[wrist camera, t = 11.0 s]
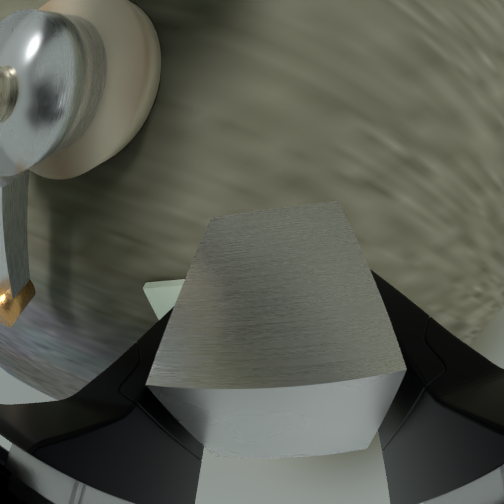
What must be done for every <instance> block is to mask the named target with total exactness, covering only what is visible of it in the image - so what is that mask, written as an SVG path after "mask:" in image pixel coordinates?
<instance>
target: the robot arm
mask: <svg viewBox="0 0 504 504" xmlns="http://www.w3.org/2000/svg"><path fill="white" fill-rule="evenodd" d="M370 271H371V273H372V276H373V278H374V280H375V283H376V285H377V288H378V290H379V293H380V295H381V298H382V300H383V303H384V305H385V308H386V311H387V313H388V316H389V319H390V321H391V324H392V327H393V330H394V333H395V335H396V338H397V341H398V344H399V347H400V350H401V353H402V356H403V359H404V362H405V366H406V369H407V370H406V372H405V375H404V377H403V379H402V382H401V384H400V386H399V388H398V391H397V393H396V395H395V397H394V399H393V401H392V403H391V405H390V407H389V409H388V411H387V413H386V415H385V417H384V419H383V421H382V423H381V425H380V427H379V429H378V432H379V437H380V442H381V447H382V451H383V452H382V453H383V459H384V464H385V470H386V476H387V482H388V489H389V496H390V503H391V504H420V503H422V502H424V504H504V369H502V368H500V367H498V366H497V365H495V364H493V363H492V362H491V361H489V360H488V359H486V358H485V357H484V356H482V355H481V354H479V353H478V352H476V351H475V350H474V349H472V348H471V347H469V346H468V345H467V344H465V343H464V342H462V341H461V340H460V339H458V338H457V337H456V336H454V335H453V334H451V333H450V332H449V331H448V330H446V329H445V328H444V327H443V326H441V325H440V324H439V323H438V322H436V321H435V320H434V319H433V318H432V317H430V316H429V315H428V314H427V313H425V312H424V311H423V310H422V309H421V308H419V307H418V306H417V305H416V304H414V303H413V302H412V301H411V300H409V299H408V298H407V297H406V296H404V295H403V294H402V293H401V292H399V291H398V290H397V289H395V288H394V287H393V286H392V285H390V284H389V283H388V282H386V281H385V280H384V279H383V278H381V277H380V276H379V275H377V274H376V273H375V272H373V271H372V270H371V269H370ZM173 308H174V307H173ZM173 308H172V309H171V310H169V311H168V312H167V313H166V314H165V315H164V316H163V317H162V318H161V319H160V320H159V321H158V322H157V323H156V324H155V325H154V326H153V327H152V328H151V329H149V330H148V331H147V332H146V333H145V334H144V335H143V336H142V337H141V338H140V339H139V340H138V341H137V343H135V344H134V345H133V346H132V347H131V348H129V349H128V350H127V351H126V352H125V353H124V354H123V355H122V356H121V357H120V358H119V359H118V360H116V361H115V362H114V363H113V364H112V365H111V366H109V367H108V368H107V369H106V370H105V371H103V372H102V373H101V374H100V375H98V376H97V377H96V378H95V379H93V380H92V381H91V382H90V383H89V384H87V385H86V386H85V387H84V388H82V389H81V390H80V391H79V392H77V393H76V394H74V395H73V396H71V397H69V398H66V399H63V400H59V401H50V402H42V403H29V404H14V405H4V404H0V434H1V435H2V436H3V437H5V438H6V439H7V440H9V441H10V442H11V443H12V446H11V448H10V451H8V450H6V449H5V448H3V447H2V446H1V445H0V504H195V499H196V492H197V486H198V480H199V473H200V468H201V460H202V455H203V449H204V446H203V445H202V444H201V443H200V442H199V441H198V440H197V439H196V438H195V437H194V436H193V435H192V434H191V433H190V432H189V431H188V430H187V429H186V428H185V427H184V426H183V425H182V424H181V423H180V422H179V421H178V420H177V419H176V418H175V417H174V416H173V415H172V414H171V413H170V412H169V411H168V410H167V409H166V408H165V406H164V405H163V404H162V403H161V402H160V401H159V400H158V399H157V398H156V396H155V395H154V394H153V393H152V392H151V391H150V389H149V388H148V387H147V386H146V382H147V379H148V376H149V373H150V371H151V368H152V365H153V362H154V359H155V357H156V354H157V351H158V348H159V345H160V343H161V340H162V337H163V335H164V332H165V329H166V327H167V324H168V321H169V319H170V316H171V314H172V311H173ZM429 317H430V318H429Z"/></svg>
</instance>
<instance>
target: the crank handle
mask: <svg viewBox="0 0 504 504" xmlns="http://www.w3.org/2000/svg"><path fill="white" fill-rule="evenodd" d="M106 72H107V60H106V52H105V47H104V43H103V41H102V38H101V36H100V34H99V32H98V31H97V29H96V28H95V27H94V25H93V24H92V23H91V22H89V21H88V20H86V19H85V18H82V17H80V16H76V15H71V14H65V13H58V12H51V11H43V10H33V9H25V10H20V11H17V12H14V13H12V14H11V15H9V16H7V17H6V18H5V19H3V20H2V21H1V22H0V322H1V323H2V324H4V325H5V326H7V327H11V326H12V325H13V324H14V322H15V321H16V319H17V318H18V317H19V315H20V314H21V313H22V311H23V310H24V309H25V307H26V306H27V305H28V303H29V302H30V301H31V300H32V298H33V297H34V296H35V288H34V285H33V283H32V282H31V280H30V273H29V260H28V240H27V206H28V186H29V174H30V171H28V170H27V169H28V168H30V167H32V166H34V165H35V164H37V163H39V162H41V161H43V160H45V159H47V158H49V157H51V156H53V155H55V154H57V153H59V152H61V151H64V150H65V149H67V148H69V147H70V146H72V145H73V144H74V143H76V142H77V141H78V140H79V139H80V138H81V137H82V135H83V134H84V133H85V132H86V130H87V129H88V127H89V126H90V124H91V123H92V121H93V119H94V117H95V115H96V113H97V111H98V108H99V105H100V103H101V100H102V96H103V92H104V87H105V82H106Z"/></svg>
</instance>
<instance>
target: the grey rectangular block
mask: <svg viewBox="0 0 504 504" xmlns="http://www.w3.org/2000/svg"><path fill="white" fill-rule="evenodd" d="M406 370H407V369H406V366H405V362H404V359H403V356H402V353H401V350H400V347H399V344H398V341H397V338H396V335H395V333H394V330H393V327H392V324H391V321H390V319H389V316H388V313H387V311H386V308H385V305H384V303H383V300H382V298H381V295H380V293H379V290H378V288H377V285H376V283H375V280H374V278H373V276H372V273H371V271H370V268H369V266H368V264H367V262H366V259H365V257H364V255H363V252H362V250H361V248H360V246H359V244H358V241H357V239H356V237H355V235H354V233H353V231H352V229H351V227H350V224H349V222H348V220H347V218H346V216H345V214H344V212H343V210H342V208H341V206H340V204H339V202H338V201H332V202H323V203H314V204H306V205H297V206H289V207H281V208H273V209H265V210H258V211H251V212H243V213H236V214H229V215H223V216H216V217H211V219H210V222H209V224H208V226H207V228H206V231H205V233H204V235H203V238H202V240H201V242H200V245H199V247H198V249H197V252H196V254H195V256H194V259H193V261H192V264H191V266H190V269H189V271H188V273H187V276H186V278H185V281H184V283H183V286H182V288H181V291H180V293H179V296H178V298H177V301H176V303H175V306H174V308H173V311H172V314H171V316H170V319H169V321H168V324H167V327H166V329H165V332H164V335H163V337H162V340H161V343H160V345H159V348H158V351H157V354H156V357H155V359H154V362H153V365H152V368H151V371H150V373H149V376H148V379H147V382H146V386H147V387H148V388H149V389H150V391H151V392H152V393H153V394H154V395H155V396H156V398H157V399H158V400H159V401H160V402H161V403H162V404H163V405H164V406H165V408H166V409H167V410H168V411H169V412H170V413H171V414H172V415H173V416H174V417H175V418H176V419H177V420H178V421H179V422H180V423H181V424H182V425H183V426H184V427H185V428H186V429H187V430H188V431H189V432H190V433H191V434H192V435H193V436H194V437H195V438H196V439H197V440H198V441H199V442H200V443H201V444H202V445H203V446H204V447H205V448H206V449H207V450H209V451H210V452H211V453H212V454H213V455H214V456H218V457H234V458H289V457H306V456H317V455H327V454H335V453H342V452H349V451H356V450H361V449H367V448H368V446H369V444H370V443H371V441H372V439H373V437H374V436H375V434H376V432H377V430H378V429H379V427H380V425H381V423H382V421H383V419H384V417H385V415H386V413H387V411H388V409H389V407H390V405H391V403H392V401H393V399H394V397H395V395H396V393H397V391H398V388H399V386H400V384H401V382H402V379H403V377H404V375H405V372H406Z"/></svg>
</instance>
